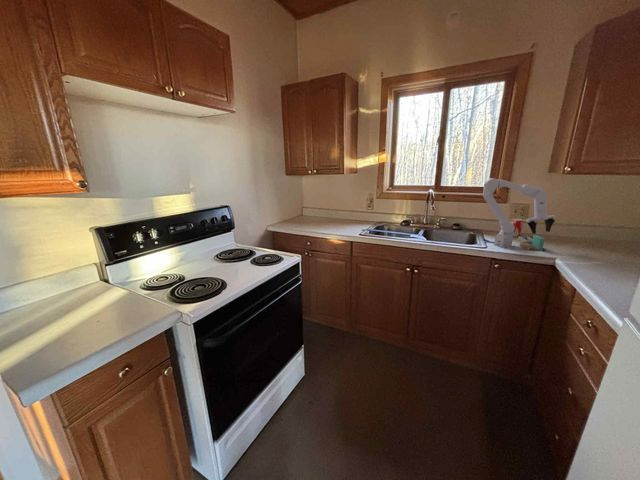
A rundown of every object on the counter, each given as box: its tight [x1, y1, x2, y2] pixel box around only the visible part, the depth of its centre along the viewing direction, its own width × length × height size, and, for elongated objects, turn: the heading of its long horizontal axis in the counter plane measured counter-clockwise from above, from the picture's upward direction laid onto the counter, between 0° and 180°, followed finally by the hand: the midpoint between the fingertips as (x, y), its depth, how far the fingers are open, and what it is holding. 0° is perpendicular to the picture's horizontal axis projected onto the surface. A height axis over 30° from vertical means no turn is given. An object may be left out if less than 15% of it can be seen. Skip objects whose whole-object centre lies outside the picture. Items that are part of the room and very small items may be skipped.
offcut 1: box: [519, 240, 527, 249], centre depth 165 cm, size 2×4×4 cm, turn 164°
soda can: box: [510, 218, 524, 238], centre depth 192 cm, size 7×7×12 cm
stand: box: [517, 236, 533, 245], centre depth 174 cm, size 6×12×3 cm, turn 164°
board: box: [532, 234, 545, 252], centre depth 161 cm, size 2×9×7 cm, turn 164°
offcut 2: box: [522, 243, 531, 251], centre depth 161 cm, size 2×4×3 cm, turn 164°
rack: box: [519, 244, 547, 252], centre depth 162 cm, size 10×10×2 cm
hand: (540, 232), depth 160 cm, fingers open, 7 cm apart
